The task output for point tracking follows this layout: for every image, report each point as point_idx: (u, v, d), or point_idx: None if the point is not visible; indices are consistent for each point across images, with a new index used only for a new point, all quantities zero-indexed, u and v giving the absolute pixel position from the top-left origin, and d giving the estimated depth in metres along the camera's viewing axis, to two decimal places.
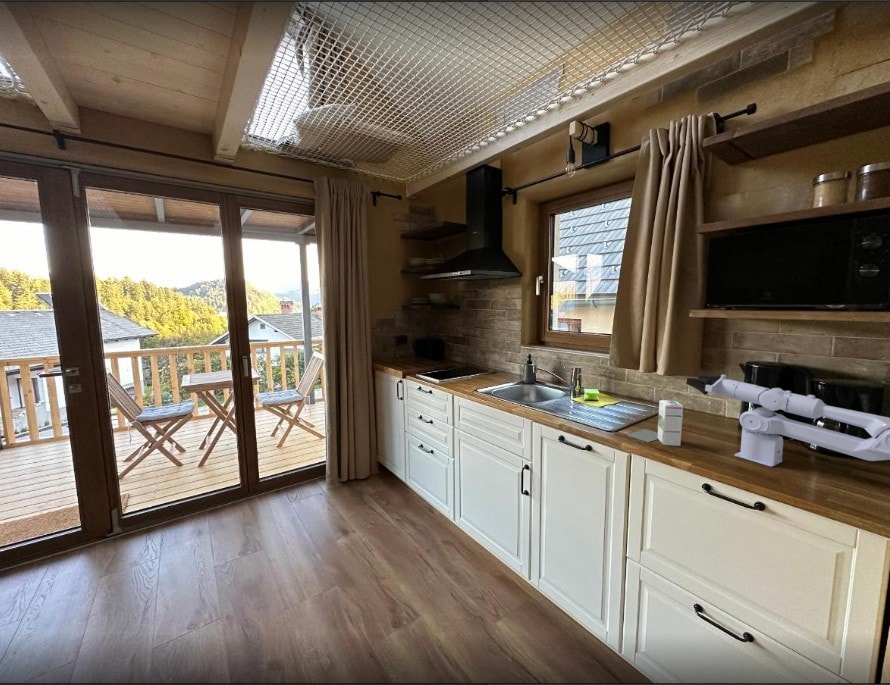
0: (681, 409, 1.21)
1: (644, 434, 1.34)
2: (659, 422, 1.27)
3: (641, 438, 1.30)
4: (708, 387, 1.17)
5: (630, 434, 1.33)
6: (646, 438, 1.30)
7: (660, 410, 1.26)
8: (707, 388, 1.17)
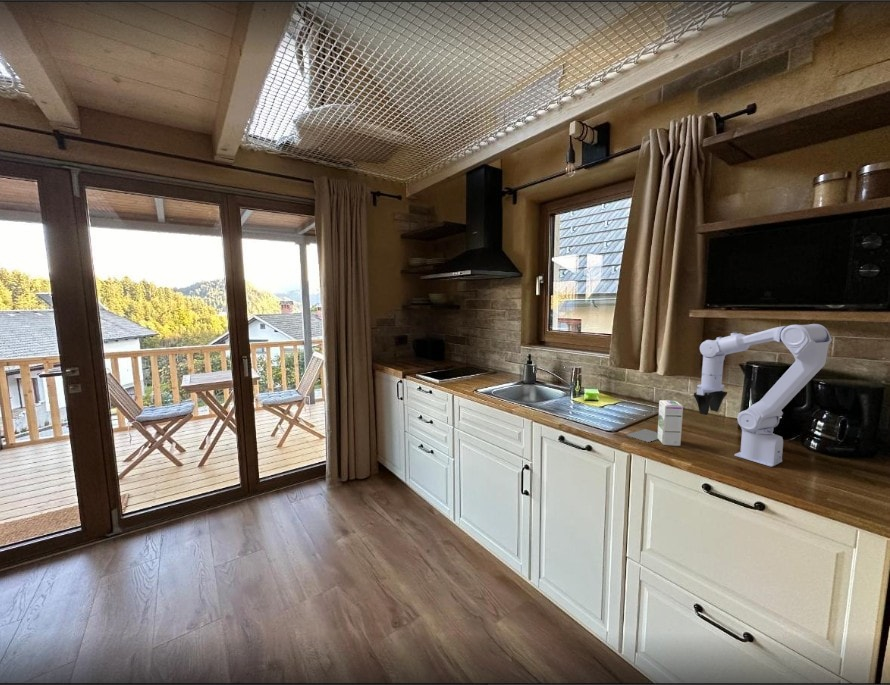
0: (681, 409, 1.21)
1: (644, 434, 1.34)
2: (659, 422, 1.27)
3: (641, 438, 1.30)
4: (698, 392, 1.22)
5: (630, 434, 1.33)
6: (646, 438, 1.30)
7: (660, 410, 1.26)
8: (700, 393, 1.22)
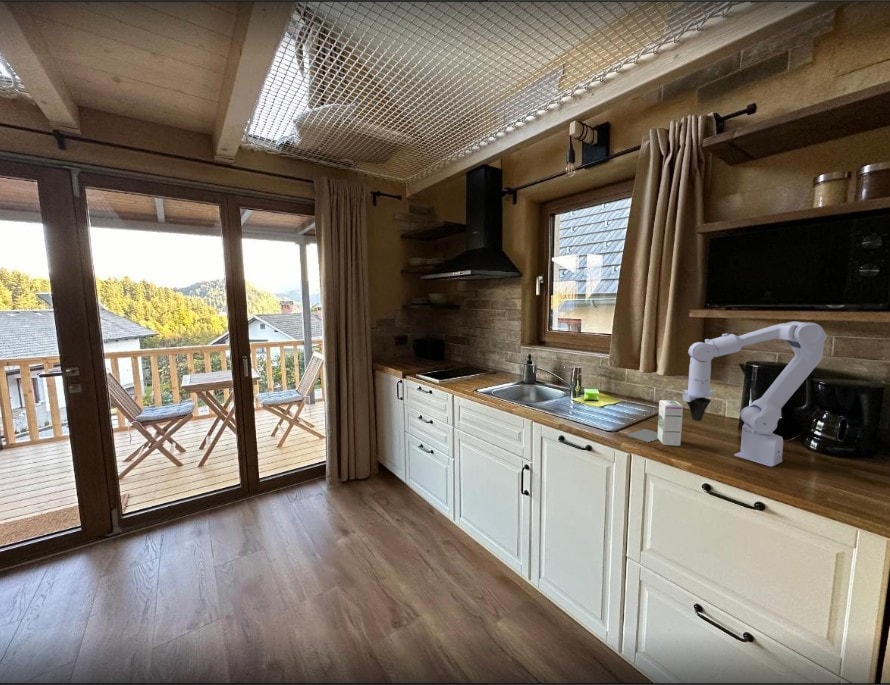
0: (681, 409, 1.21)
1: (644, 434, 1.34)
2: (659, 422, 1.27)
3: (641, 438, 1.30)
4: (684, 398, 1.14)
5: (630, 434, 1.33)
6: (646, 438, 1.30)
7: (660, 410, 1.26)
8: (686, 399, 1.14)
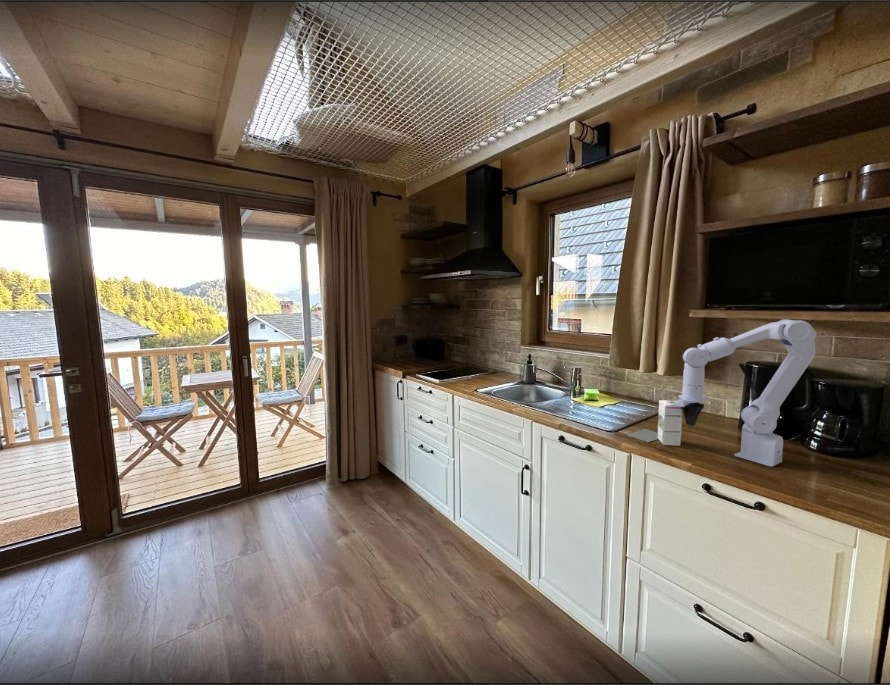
0: (681, 409, 1.21)
1: (644, 434, 1.34)
2: (659, 422, 1.27)
3: (641, 438, 1.30)
4: (679, 403, 1.15)
5: (630, 434, 1.33)
6: (646, 438, 1.30)
7: (660, 410, 1.26)
8: (680, 405, 1.15)
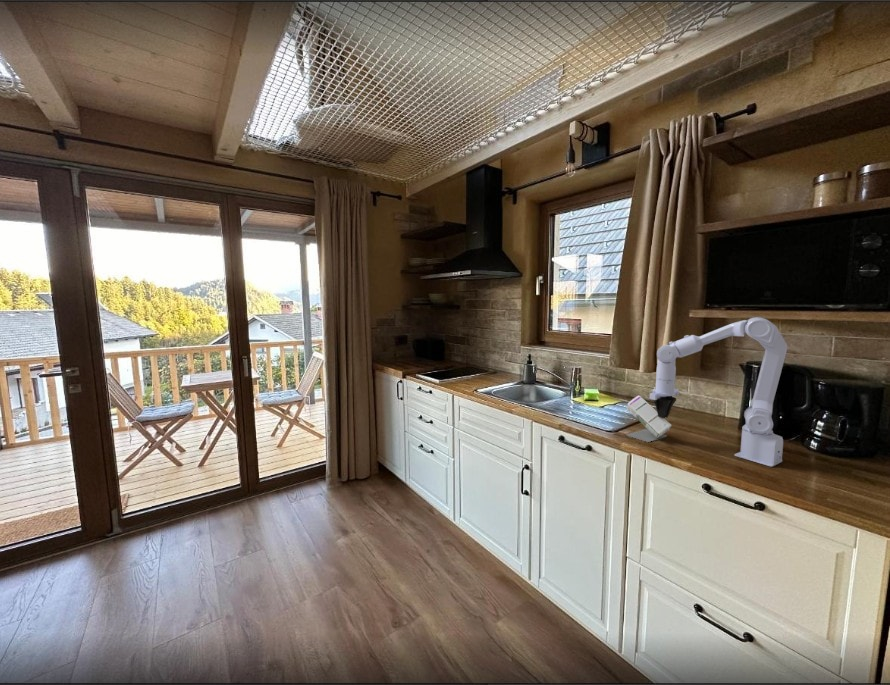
0: (640, 398, 1.33)
1: (644, 434, 1.34)
2: (642, 423, 1.32)
3: (641, 438, 1.30)
4: (651, 396, 1.23)
5: (630, 434, 1.33)
6: (646, 438, 1.30)
7: (633, 413, 1.35)
8: (653, 398, 1.23)
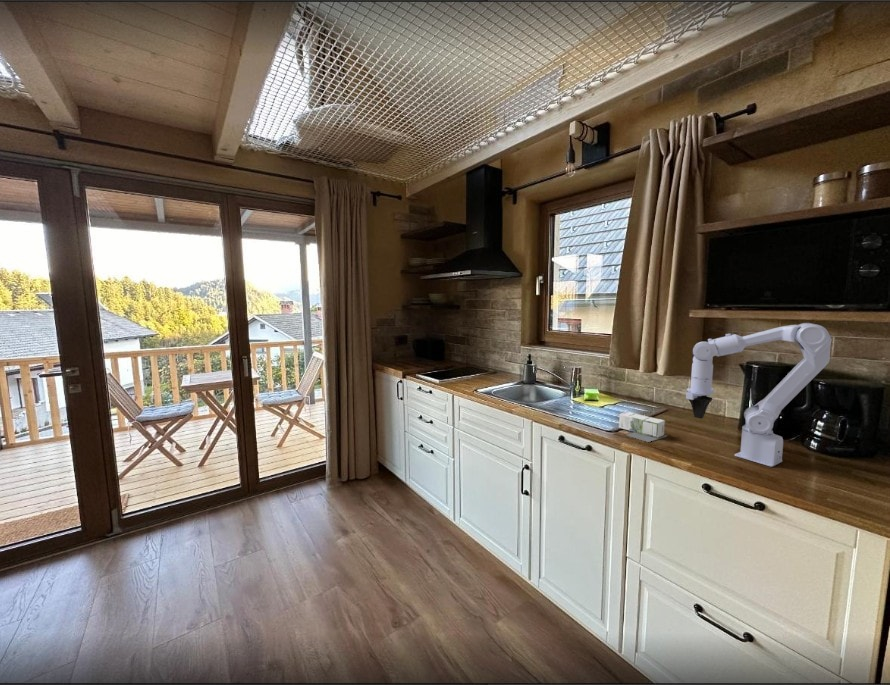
0: (628, 412, 1.42)
1: None
2: (638, 429, 1.35)
3: (641, 438, 1.30)
4: (688, 396, 1.17)
5: (630, 434, 1.33)
6: (646, 438, 1.30)
7: (626, 425, 1.38)
8: (689, 397, 1.16)
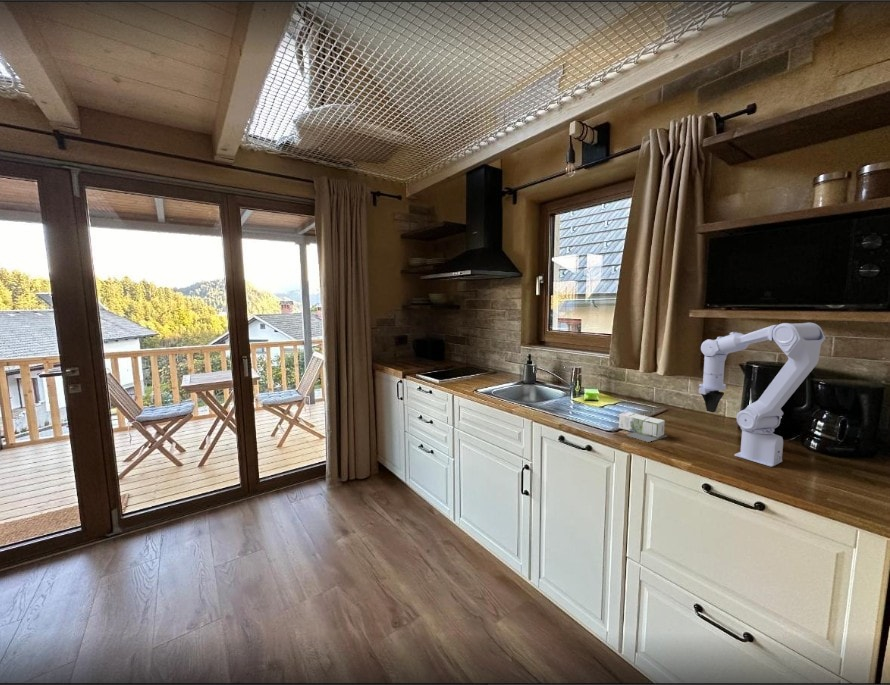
0: (628, 412, 1.42)
1: None
2: (638, 429, 1.35)
3: (641, 438, 1.30)
4: (700, 391, 1.23)
5: (630, 434, 1.33)
6: (646, 438, 1.30)
7: (626, 425, 1.38)
8: (702, 392, 1.23)
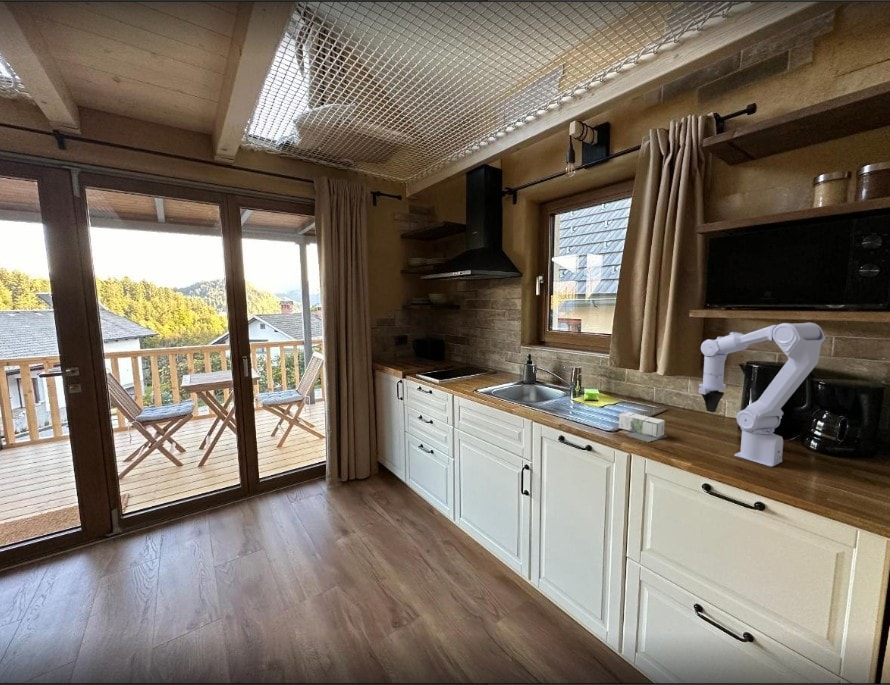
0: (628, 412, 1.42)
1: None
2: (638, 429, 1.35)
3: (641, 438, 1.30)
4: (700, 391, 1.23)
5: (630, 434, 1.33)
6: (646, 438, 1.30)
7: (626, 425, 1.38)
8: (702, 392, 1.23)
